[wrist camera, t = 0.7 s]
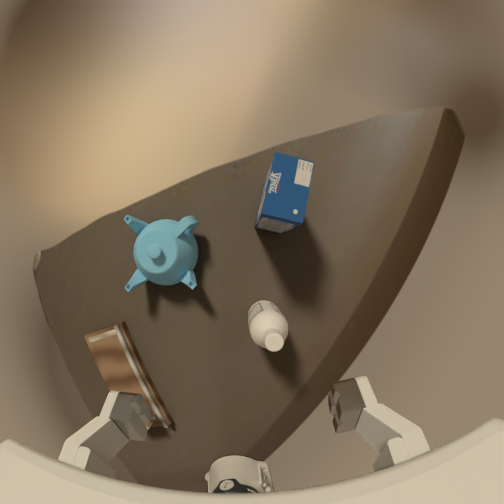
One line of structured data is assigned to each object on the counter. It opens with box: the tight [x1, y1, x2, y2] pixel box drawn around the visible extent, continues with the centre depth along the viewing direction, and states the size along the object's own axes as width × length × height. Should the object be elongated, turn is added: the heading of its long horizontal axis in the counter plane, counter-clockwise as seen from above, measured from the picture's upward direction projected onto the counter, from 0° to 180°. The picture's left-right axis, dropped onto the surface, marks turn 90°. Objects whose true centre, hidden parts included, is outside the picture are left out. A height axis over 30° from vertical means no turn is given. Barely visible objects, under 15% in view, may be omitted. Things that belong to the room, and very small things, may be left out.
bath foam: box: [248, 301, 288, 352], centre depth 49 cm, size 7×7×20 cm
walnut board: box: [84, 321, 173, 428], centre depth 56 cm, size 28×12×4 cm, turn 20°
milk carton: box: [255, 152, 314, 234], centre depth 50 cm, size 10×6×20 cm, turn 167°
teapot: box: [124, 215, 199, 292], centre depth 54 cm, size 15×15×11 cm
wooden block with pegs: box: [146, 404, 158, 429], centre depth 53 cm, size 4×11×6 cm, turn 110°
